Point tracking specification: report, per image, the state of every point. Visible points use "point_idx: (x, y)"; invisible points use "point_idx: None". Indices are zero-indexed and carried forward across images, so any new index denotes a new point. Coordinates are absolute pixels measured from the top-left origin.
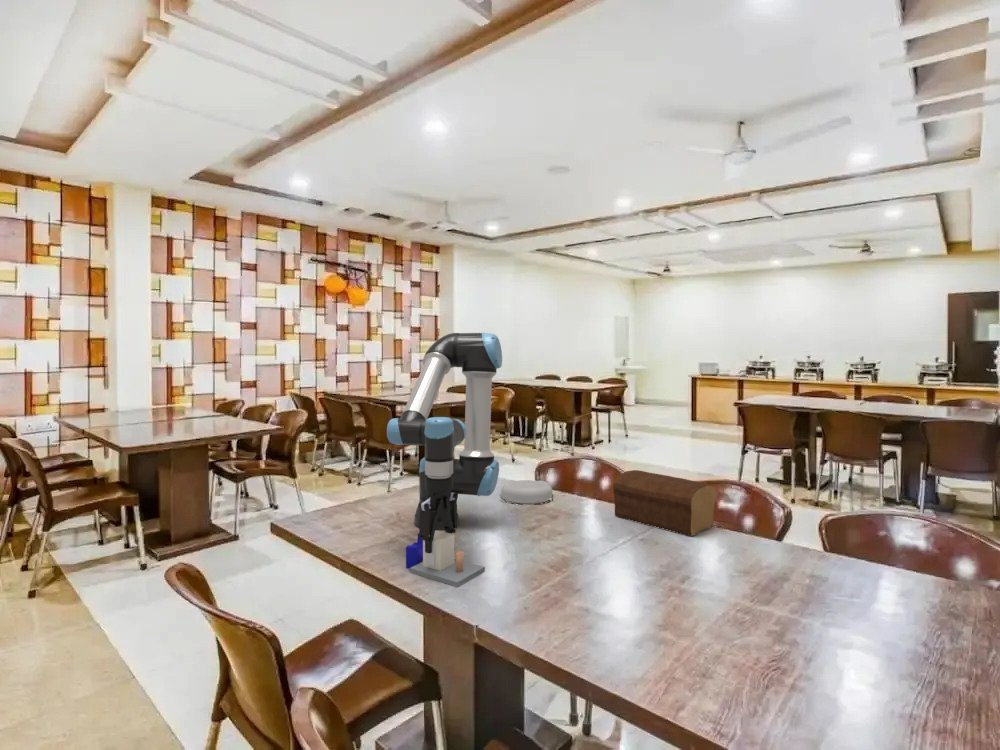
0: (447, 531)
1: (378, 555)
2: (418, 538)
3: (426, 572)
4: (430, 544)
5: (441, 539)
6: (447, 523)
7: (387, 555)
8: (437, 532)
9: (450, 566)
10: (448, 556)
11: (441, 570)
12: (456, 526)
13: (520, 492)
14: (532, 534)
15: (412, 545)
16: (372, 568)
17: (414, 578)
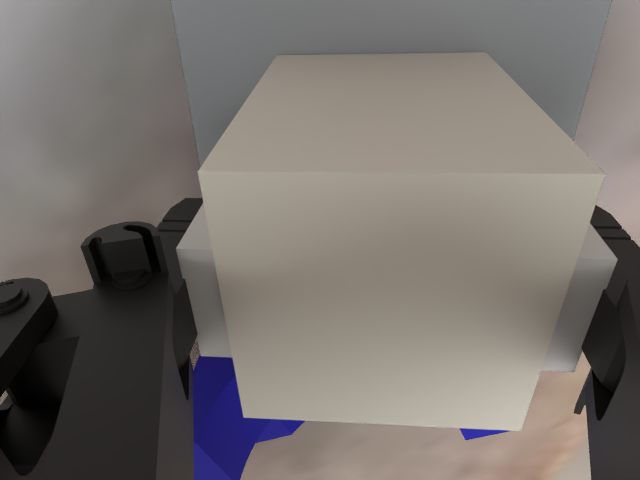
0: (185, 319)
1: (400, 476)
2: (244, 454)
3: (565, 132)
4: (617, 263)
5: (522, 202)
6: (172, 417)
7: (376, 453)
8: (296, 387)
9: (351, 41)
10: (365, 79)
11: (472, 50)
12: (11, 293)
13: None
14: None
15: (287, 431)
16: (560, 424)
17: (611, 174)
